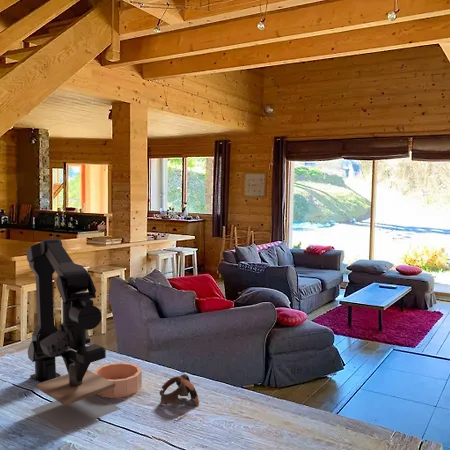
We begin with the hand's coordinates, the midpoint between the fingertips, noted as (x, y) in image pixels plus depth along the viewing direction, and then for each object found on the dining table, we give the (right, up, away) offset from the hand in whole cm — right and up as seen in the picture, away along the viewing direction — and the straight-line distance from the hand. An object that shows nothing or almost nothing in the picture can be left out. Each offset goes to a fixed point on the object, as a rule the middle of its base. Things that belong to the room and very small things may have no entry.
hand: (75, 379), depth 123 cm
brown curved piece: (+26, -8, +6) cm, 28 cm away
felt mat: (0, -8, +1) cm, 8 cm away
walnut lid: (0, -2, 0) cm, 2 cm away
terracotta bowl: (+8, -7, +14) cm, 17 cm away
